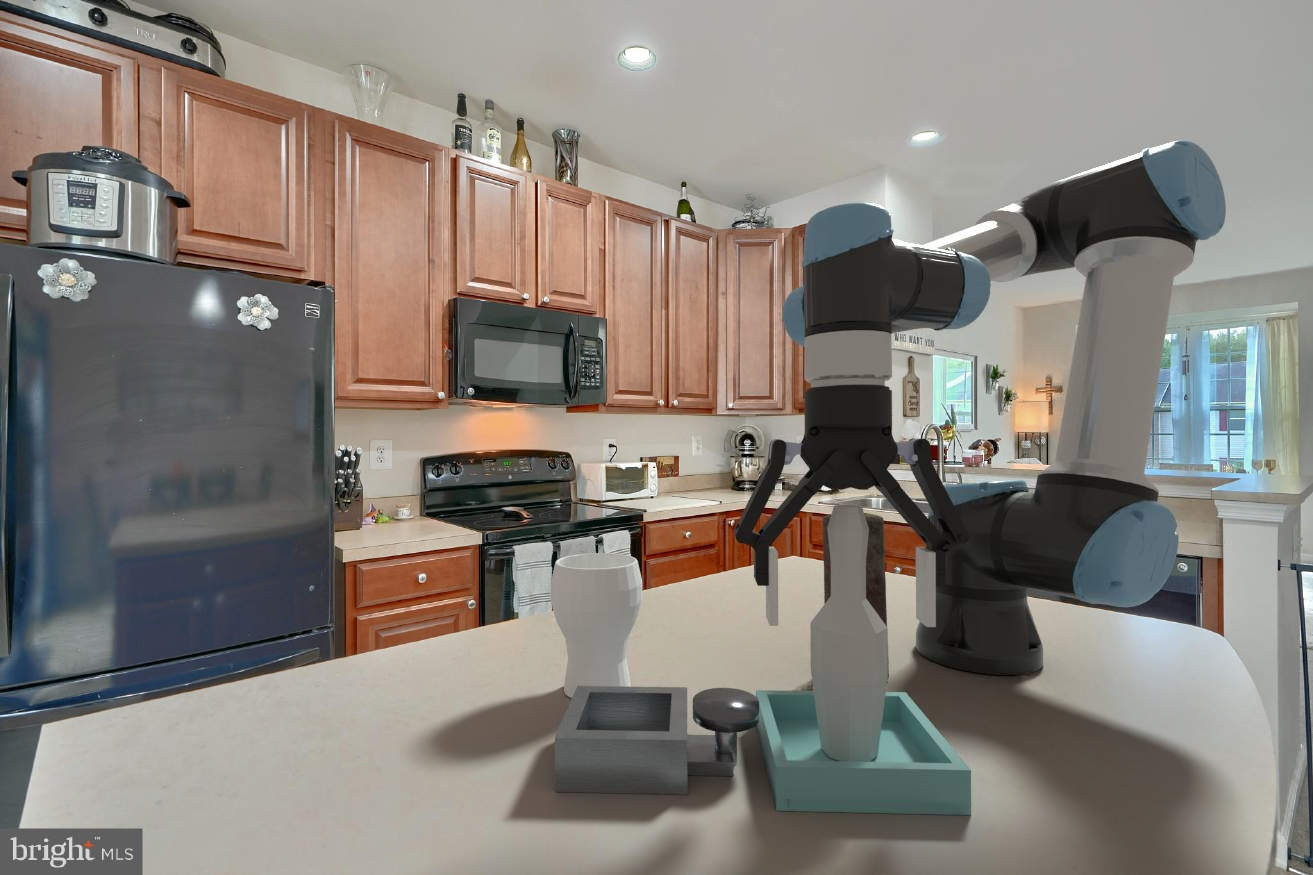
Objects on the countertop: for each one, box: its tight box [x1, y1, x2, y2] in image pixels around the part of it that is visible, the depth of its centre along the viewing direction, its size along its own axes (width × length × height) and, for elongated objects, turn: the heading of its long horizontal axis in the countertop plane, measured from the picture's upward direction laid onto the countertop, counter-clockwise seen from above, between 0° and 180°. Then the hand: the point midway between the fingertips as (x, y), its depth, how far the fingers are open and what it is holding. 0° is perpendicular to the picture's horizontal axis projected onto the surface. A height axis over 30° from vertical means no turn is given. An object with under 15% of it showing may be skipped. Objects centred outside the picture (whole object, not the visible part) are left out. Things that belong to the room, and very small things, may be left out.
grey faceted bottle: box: [809, 504, 889, 762], centre depth 58 cm, size 6×6×22 cm
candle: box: [822, 512, 890, 680], centre depth 78 cm, size 8×7×20 cm
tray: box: [755, 689, 972, 816], centre depth 58 cm, size 15×15×4 cm
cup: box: [550, 552, 643, 699], centre depth 75 cm, size 11×11×15 cm
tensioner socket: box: [554, 686, 759, 796], centre depth 58 cm, size 18×11×6 cm, turn 87°
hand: (848, 622), depth 58 cm, fingers open, 13 cm apart
